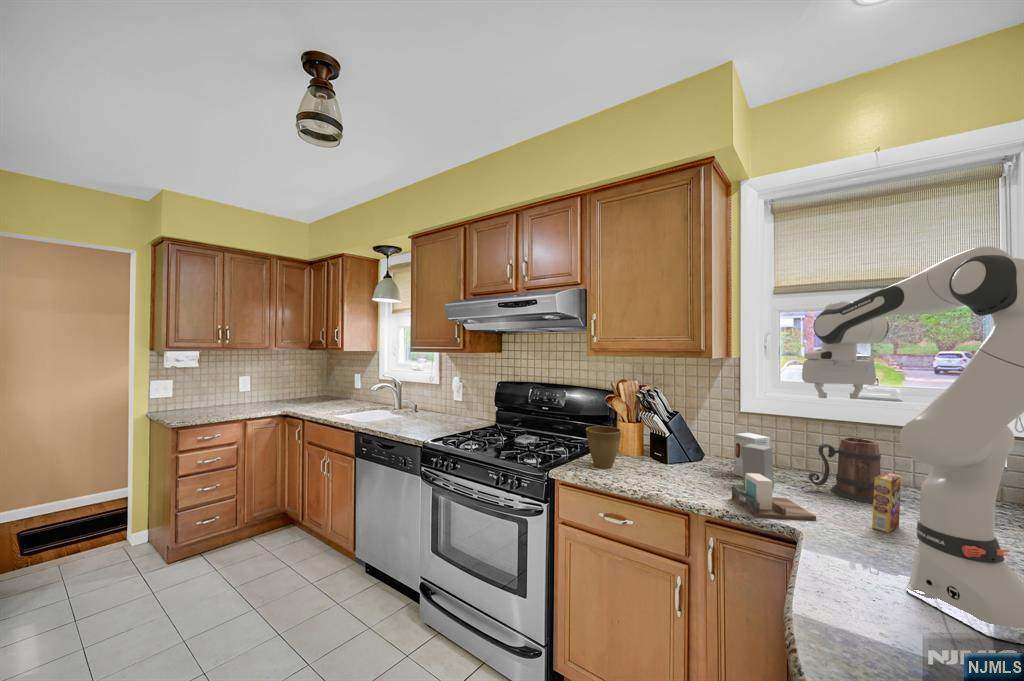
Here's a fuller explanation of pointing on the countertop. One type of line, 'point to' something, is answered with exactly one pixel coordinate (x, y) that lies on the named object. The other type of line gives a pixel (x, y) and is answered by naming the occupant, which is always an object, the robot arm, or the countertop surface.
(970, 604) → the robot arm
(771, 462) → the skincare box
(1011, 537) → the countertop surface
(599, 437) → the plant pot
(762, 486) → the cream carton
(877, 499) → the candy box
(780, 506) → the shelf board
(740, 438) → the supplement box
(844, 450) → the tankard
